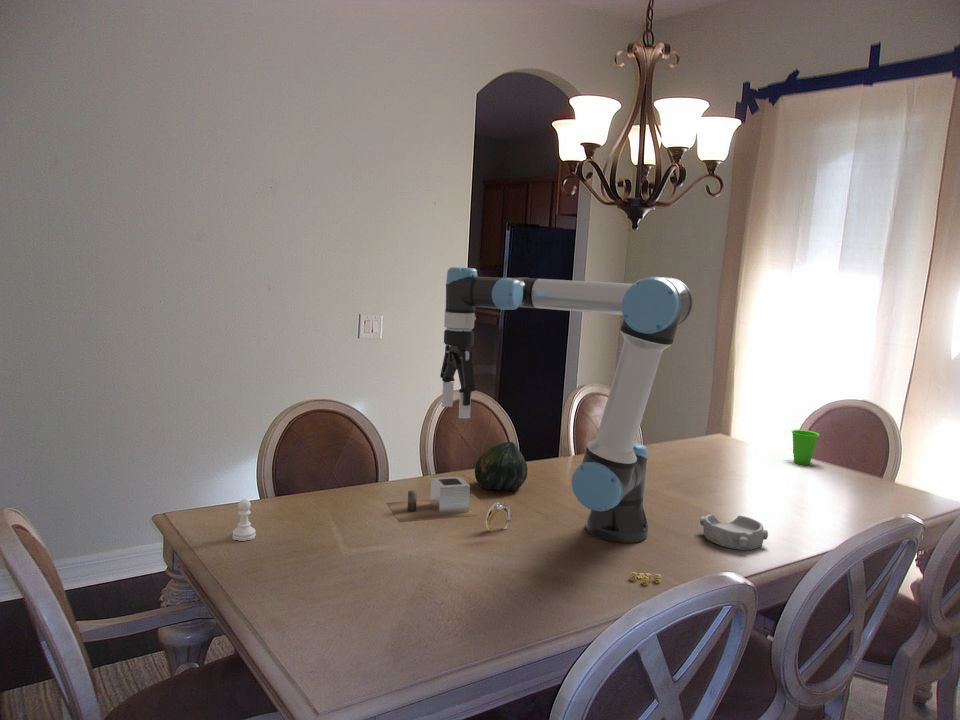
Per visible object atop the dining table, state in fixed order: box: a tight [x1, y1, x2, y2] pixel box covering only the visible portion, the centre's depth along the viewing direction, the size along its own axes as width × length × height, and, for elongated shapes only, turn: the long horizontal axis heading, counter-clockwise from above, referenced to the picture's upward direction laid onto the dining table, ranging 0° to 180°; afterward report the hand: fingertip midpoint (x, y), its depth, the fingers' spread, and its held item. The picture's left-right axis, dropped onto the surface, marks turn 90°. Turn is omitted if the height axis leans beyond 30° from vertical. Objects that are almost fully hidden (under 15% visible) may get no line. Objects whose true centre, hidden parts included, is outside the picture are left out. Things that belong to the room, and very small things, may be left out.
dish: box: [699, 513, 769, 551], centre depth 179 cm, size 14×14×5 cm
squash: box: [474, 441, 529, 492], centre depth 210 cm, size 14×15×15 cm
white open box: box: [429, 476, 471, 514], centre depth 188 cm, size 8×8×7 cm
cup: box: [790, 429, 820, 466], centre depth 256 cm, size 9×9×11 cm
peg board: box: [386, 489, 477, 523], centre depth 187 cm, size 14×20×6 cm
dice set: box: [629, 571, 662, 586], centre depth 155 cm, size 5×5×2 cm
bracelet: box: [485, 501, 512, 533], centre depth 175 cm, size 7×3×8 cm, turn 121°
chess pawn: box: [232, 499, 257, 541], centre depth 165 cm, size 5×5×9 cm
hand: (455, 412), depth 185 cm, fingers open, 13 cm apart
